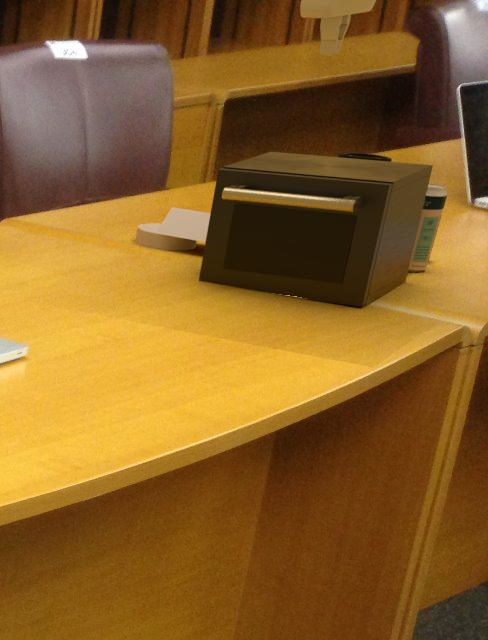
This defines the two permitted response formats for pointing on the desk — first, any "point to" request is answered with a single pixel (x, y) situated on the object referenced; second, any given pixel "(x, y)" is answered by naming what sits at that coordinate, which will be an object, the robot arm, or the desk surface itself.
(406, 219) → the oven
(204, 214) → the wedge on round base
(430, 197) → the pink and green canister
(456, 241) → the desk surface
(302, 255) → the oven door
